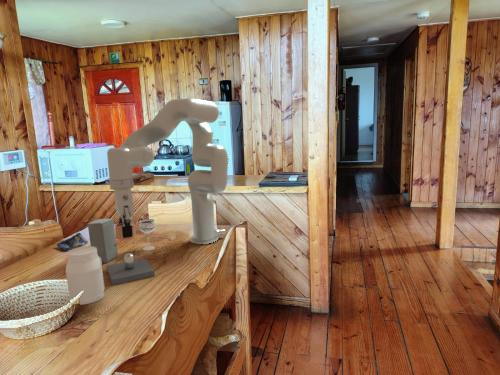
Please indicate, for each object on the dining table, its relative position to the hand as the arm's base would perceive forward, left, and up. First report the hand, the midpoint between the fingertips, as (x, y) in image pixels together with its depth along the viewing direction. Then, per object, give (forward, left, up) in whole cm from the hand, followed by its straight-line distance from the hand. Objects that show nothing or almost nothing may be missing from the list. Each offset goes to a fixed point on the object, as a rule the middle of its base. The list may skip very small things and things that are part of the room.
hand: (125, 234), depth 132 cm
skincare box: (+6, -20, -15) cm, 26 cm away
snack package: (+16, -44, -15) cm, 49 cm away
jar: (+15, +11, -15) cm, 24 cm away
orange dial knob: (0, 0, -1) cm, 1 cm away
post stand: (0, 0, -15) cm, 15 cm away
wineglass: (-12, -23, -15) cm, 30 cm away
